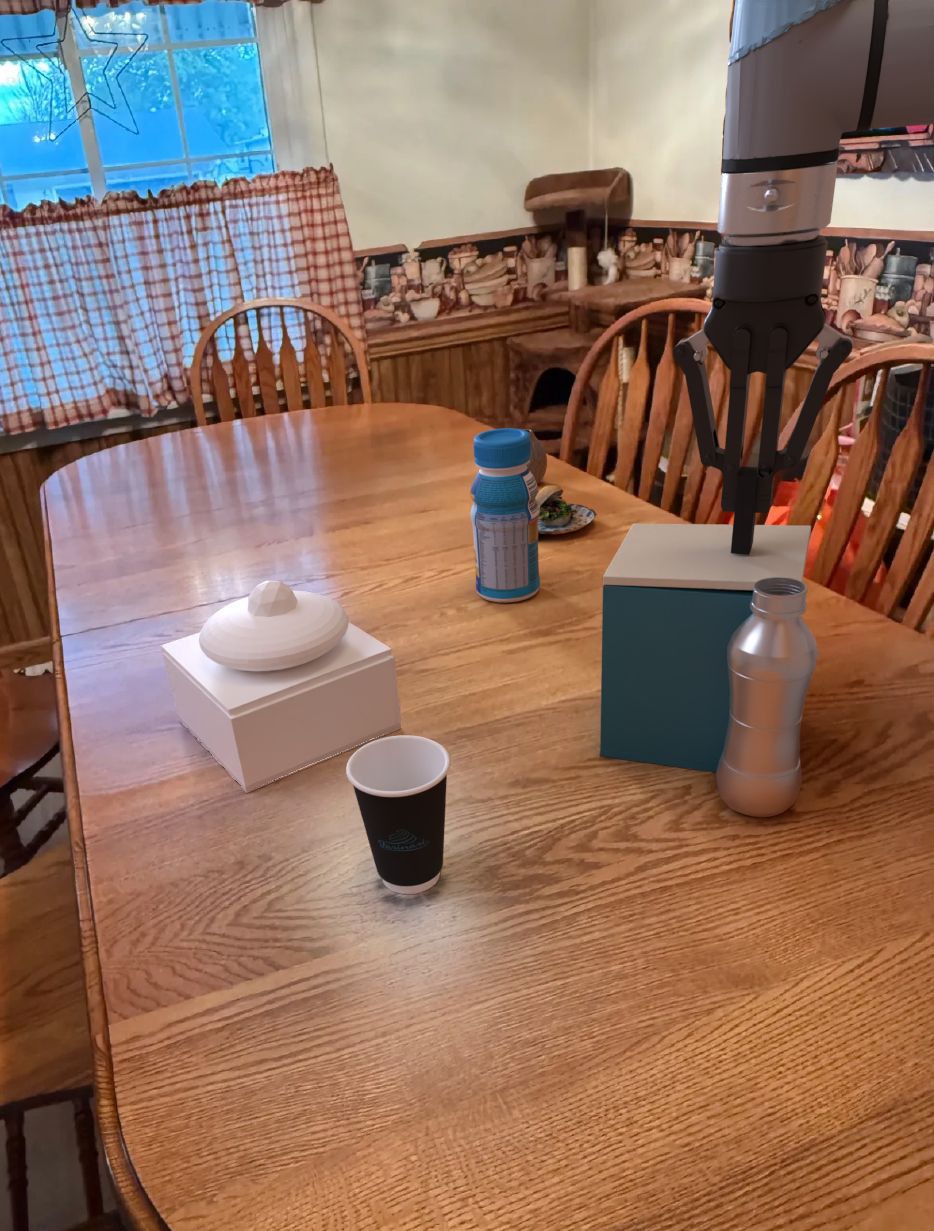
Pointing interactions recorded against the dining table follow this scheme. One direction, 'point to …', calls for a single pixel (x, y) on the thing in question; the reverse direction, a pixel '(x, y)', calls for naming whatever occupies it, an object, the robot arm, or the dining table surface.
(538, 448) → the vase
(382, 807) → the dixie cup
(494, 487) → the beverage bottle
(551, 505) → the burger
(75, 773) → the dining table surface
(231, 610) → the butter dish
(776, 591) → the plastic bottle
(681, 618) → the box
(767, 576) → the lid
